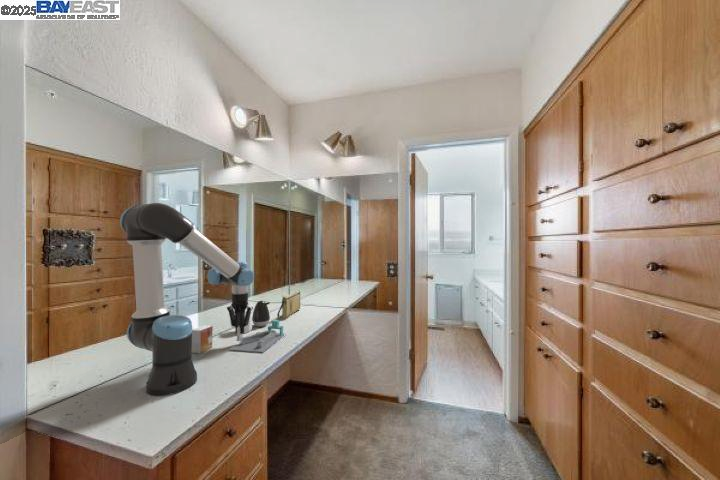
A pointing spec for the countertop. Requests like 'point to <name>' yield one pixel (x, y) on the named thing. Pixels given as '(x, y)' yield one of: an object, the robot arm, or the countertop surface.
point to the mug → (249, 326)
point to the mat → (255, 345)
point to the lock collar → (275, 326)
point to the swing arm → (253, 337)
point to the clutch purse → (290, 304)
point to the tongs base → (266, 339)
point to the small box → (201, 338)
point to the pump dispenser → (261, 314)
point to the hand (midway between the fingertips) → (239, 340)
